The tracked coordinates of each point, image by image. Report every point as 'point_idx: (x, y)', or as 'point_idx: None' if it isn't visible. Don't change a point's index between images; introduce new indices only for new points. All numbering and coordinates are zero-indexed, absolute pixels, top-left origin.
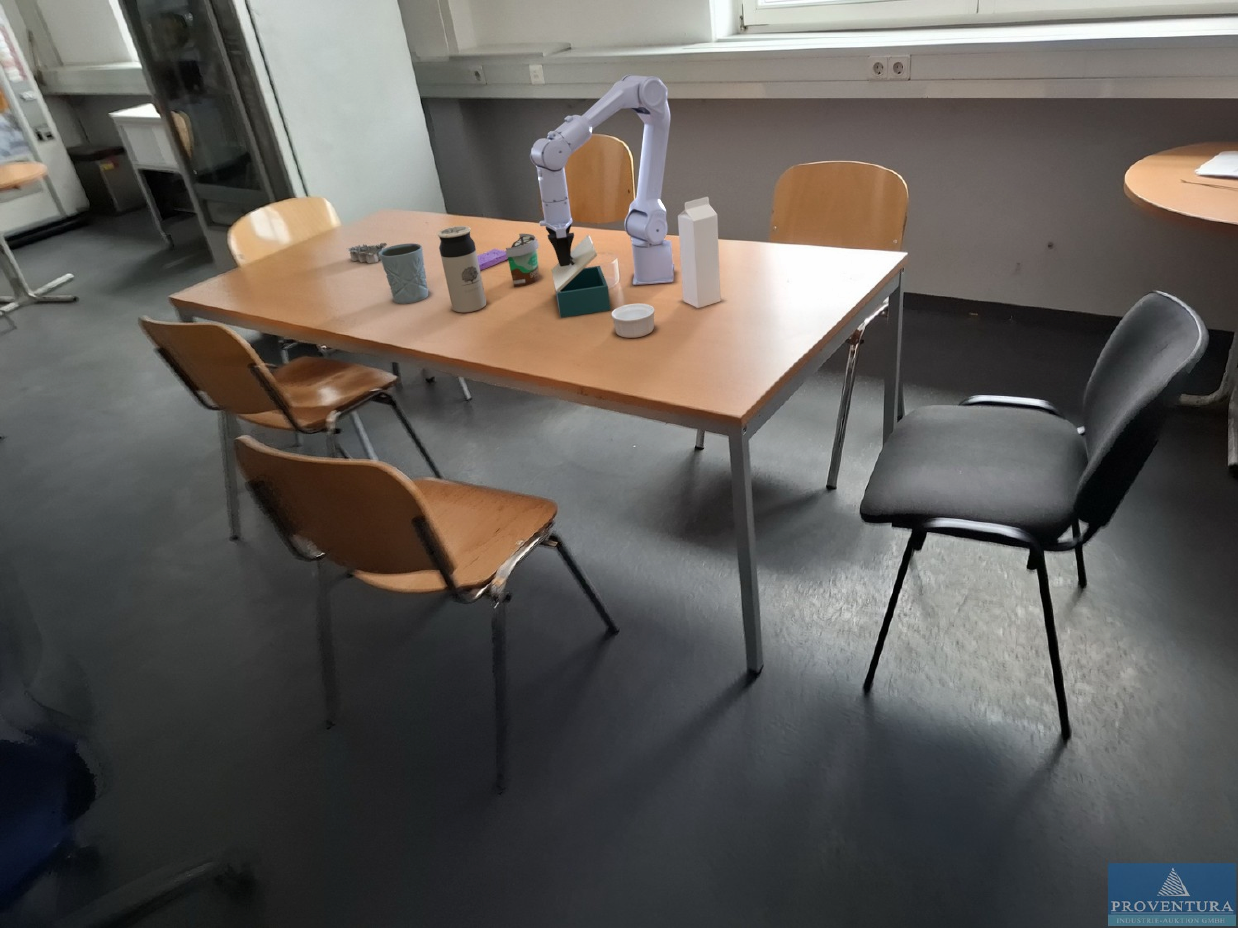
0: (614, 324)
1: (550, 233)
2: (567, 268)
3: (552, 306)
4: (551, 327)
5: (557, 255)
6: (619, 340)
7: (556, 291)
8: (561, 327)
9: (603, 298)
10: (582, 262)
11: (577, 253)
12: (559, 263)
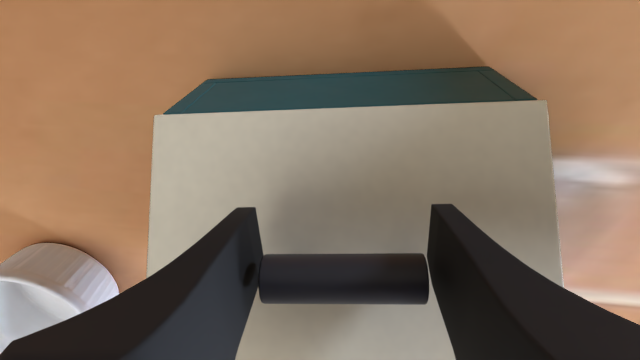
0: (19, 259)
1: (515, 345)
2: (313, 221)
3: (356, 45)
4: (111, 36)
5: (188, 254)
6: (3, 242)
7: (259, 103)
8: (108, 78)
9: None
10: None
11: (407, 322)
12: (228, 216)
